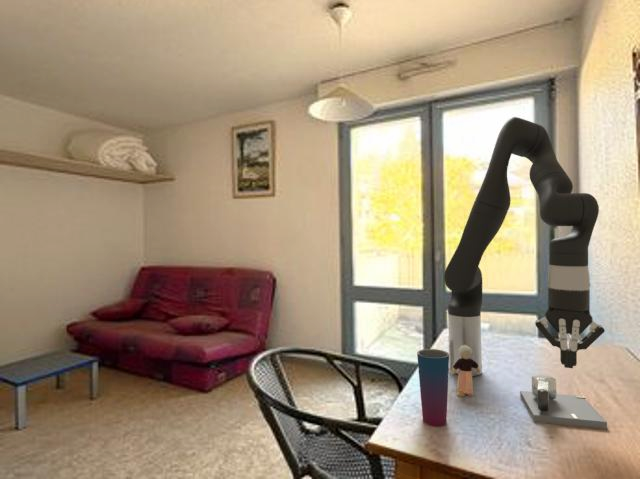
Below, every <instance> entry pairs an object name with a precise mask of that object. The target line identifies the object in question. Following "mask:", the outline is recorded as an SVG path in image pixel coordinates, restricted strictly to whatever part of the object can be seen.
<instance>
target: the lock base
mask: <svg viewBox="0 0 640 479" xmlns="http://www.w3.org/2000/svg"><path fill="white" fill-rule="evenodd" d="M519 393H520V394H519V395H520V399H521V400H522V403H523V405H524V406H525V408H526V410H527V412H528V413H529V415H530V417H531V419H532V422H534V423H541V424H542V423H544V424H550V425H551V424H552V425H562V426H563V425H565V426H571V427H572V426H574V427H581V428H590V429H591V428H592V429H599V430H601V429H602V430H603V429H604V430H608V422H607V421H606V419H605V418H604V417H603V416H602V415H601V414H600V413H599V412H598V411H597V410H596V408H595V407H594V406H593V405H592V404H591V403H590V402H589V401H588V400H587V397H586V396H583V395H576V394H565V393H563V394H562V393H556V399H552V400H549V410H548V411H541V410H539V409H538V397H535V396H534V395H532V391H525V390H520V391H519Z"/></svg>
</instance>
